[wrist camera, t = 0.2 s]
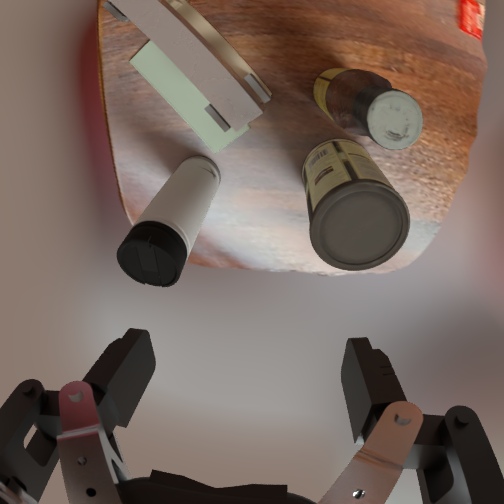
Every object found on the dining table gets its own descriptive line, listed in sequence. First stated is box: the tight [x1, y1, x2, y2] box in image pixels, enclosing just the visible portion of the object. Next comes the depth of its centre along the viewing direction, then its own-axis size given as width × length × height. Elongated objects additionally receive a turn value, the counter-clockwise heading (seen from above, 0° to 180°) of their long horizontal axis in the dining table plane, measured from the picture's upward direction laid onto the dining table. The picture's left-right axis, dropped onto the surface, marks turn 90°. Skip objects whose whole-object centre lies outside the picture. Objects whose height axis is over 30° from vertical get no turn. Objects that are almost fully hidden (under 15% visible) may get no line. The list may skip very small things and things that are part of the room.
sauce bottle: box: [313, 68, 423, 150], centre depth 23 cm, size 7×6×20 cm
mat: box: [130, 40, 250, 154], centre depth 32 cm, size 18×6×1 cm, turn 38°
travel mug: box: [117, 156, 221, 287], centre depth 32 cm, size 6×7×20 cm
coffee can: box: [302, 139, 410, 271], centre depth 32 cm, size 10×10×14 cm
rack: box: [103, 0, 272, 132], centre depth 24 cm, size 20×5×11 cm, turn 38°
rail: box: [109, 0, 265, 132], centre depth 20 cm, size 20×3×3 cm, turn 38°
